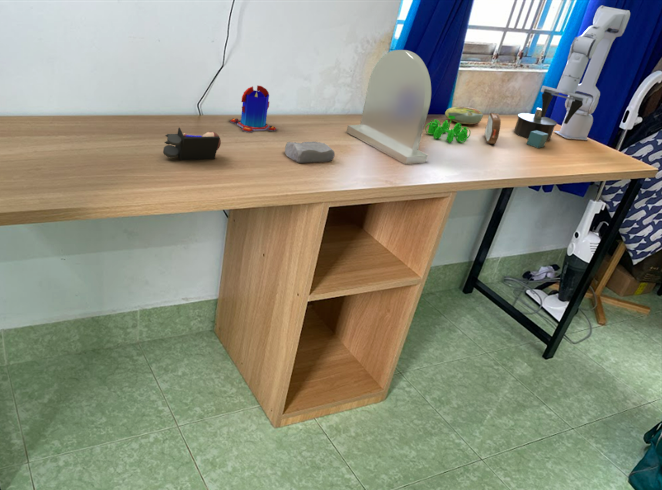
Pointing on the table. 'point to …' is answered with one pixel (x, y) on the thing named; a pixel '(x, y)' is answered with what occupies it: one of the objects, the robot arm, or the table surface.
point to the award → (396, 107)
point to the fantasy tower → (254, 110)
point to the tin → (492, 128)
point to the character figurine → (192, 146)
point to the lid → (537, 118)
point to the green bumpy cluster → (456, 130)
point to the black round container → (531, 129)
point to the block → (537, 139)
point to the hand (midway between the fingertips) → (553, 120)
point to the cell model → (464, 115)
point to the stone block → (309, 152)
